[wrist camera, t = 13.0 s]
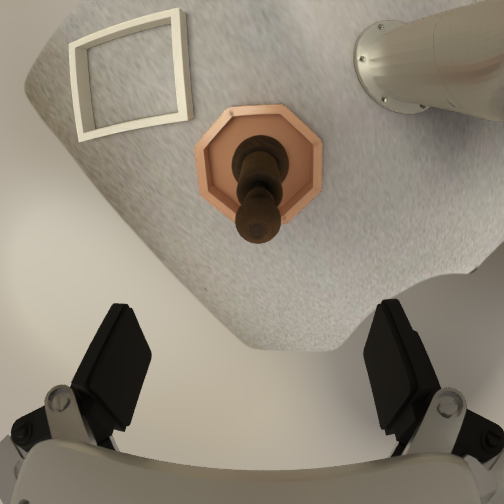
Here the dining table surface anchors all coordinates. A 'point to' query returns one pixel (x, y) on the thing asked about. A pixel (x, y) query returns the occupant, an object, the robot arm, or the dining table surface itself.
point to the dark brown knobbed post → (259, 187)
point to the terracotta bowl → (251, 124)
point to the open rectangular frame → (79, 47)
